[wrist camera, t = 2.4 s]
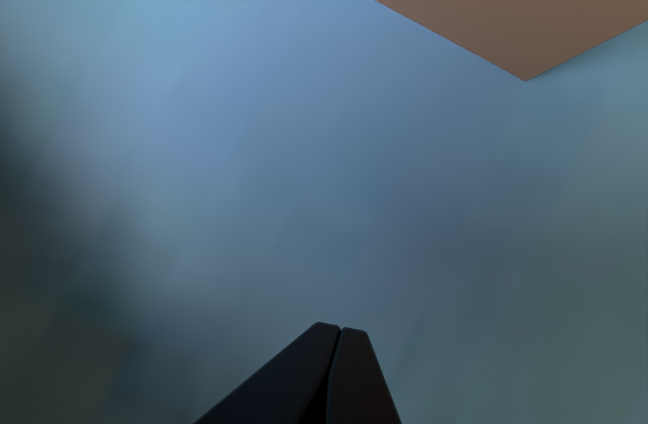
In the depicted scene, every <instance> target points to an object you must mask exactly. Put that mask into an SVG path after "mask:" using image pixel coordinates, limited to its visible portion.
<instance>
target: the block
mask: <svg viewBox="0 0 648 424" xmlns="http://www.w3.org/2000/svg"><path fill="white" fill-rule="evenodd" d="M375 1H377V2H379V3H381V4H383V5H385V6H387V7H388V8H390V9H392V10H394V11H396V12H398V13H400V14H401V15H403V16H405V17H407V18H409V19H411V20H413V21H414V22H416V23H418V24H420V25H422V26H424V27H426V28H427V29H429V30H431V31H433V32H435V33H437V34H439V35H440V36H442V37H444V38H446V39H448V40H450V41H452V42H453V43H455V44H457V45H459V46H461V47H463V48H465V49H466V50H468V51H470V52H472V53H474V54H476V55H478V56H479V57H481V58H483V59H485V60H487V61H489V62H491V63H493V64H494V65H496V66H498V67H500V68H502V69H504V70H506V71H507V72H509V73H511V74H513V75H515V76H517V77H519V78H520V79H522V80H524V81H527V80H529V79H531V78H533V77H535V76H537V75H539V74H541V73H543V72H545V71H547V70H549V69H551V68H553V67H555V66H557V65H559V64H561V63H563V62H565V61H567V60H569V59H571V58H573V57H575V56H577V55H579V54H581V53H583V52H585V51H587V50H589V49H591V48H593V47H595V46H597V45H599V44H601V43H603V42H605V41H607V40H609V39H611V38H613V37H615V36H617V35H619V34H621V33H623V32H625V31H627V30H629V29H631V28H633V27H635V26H637V25H639V24H641V23H643V22H645V21H647V20H648V0H375Z"/></svg>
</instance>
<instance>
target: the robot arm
mask: <svg viewBox="0 0 648 424" xmlns="http://www.w3.org/2000/svg"><path fill="white" fill-rule="evenodd" d="M193 424H402V423H401V420H400V417H399V415H398V412H397V410H396V407H395V404H394V402H393V399H392V397H391V394H390V391H389V389H388V386H387V384H386V381H385V378H384V376H383V373H382V371H381V368H380V365H379V363H378V360H377V357H376V355H375V352H374V350H373V347H372V344H371V342H370V339H369V337H368V335H367V333H366V332H365V331H362V330H358V329H353V328H348V327H344V328H342V330H341V329H340V327H339V326H337V325H332V324H327V323H322V322H316V323H315V324H313V325H312V326H311V327H310V328H309V329H307V330H306V331H305V332H304V333H302V334H301V335H300V336H299V337H298V338H296V339H295V340H294V341H293V342H292V343H290V344H289V345H288V346H287V347H285V348H284V349H283V350H282V351H281V352H279V353H278V354H277V355H276V356H275V357H273V358H272V359H271V360H270V361H268V362H267V363H266V364H265V365H264V366H262V367H261V368H260V369H259V370H258V371H256V372H255V373H254V374H253V375H251V376H250V377H249V378H248V379H247V380H245V381H244V382H243V383H242V384H241V385H239V386H238V387H237V388H236V389H234V390H233V391H232V392H231V393H230V394H228V395H227V396H226V397H225V398H223V399H222V400H221V401H220V402H219V403H217V404H216V405H215V406H214V407H213V408H211V409H210V410H209V411H208V412H206V413H205V414H204V415H203V416H202V417H200V418H199V419H198V420H197V421H196V422H194V423H193Z"/></svg>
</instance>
